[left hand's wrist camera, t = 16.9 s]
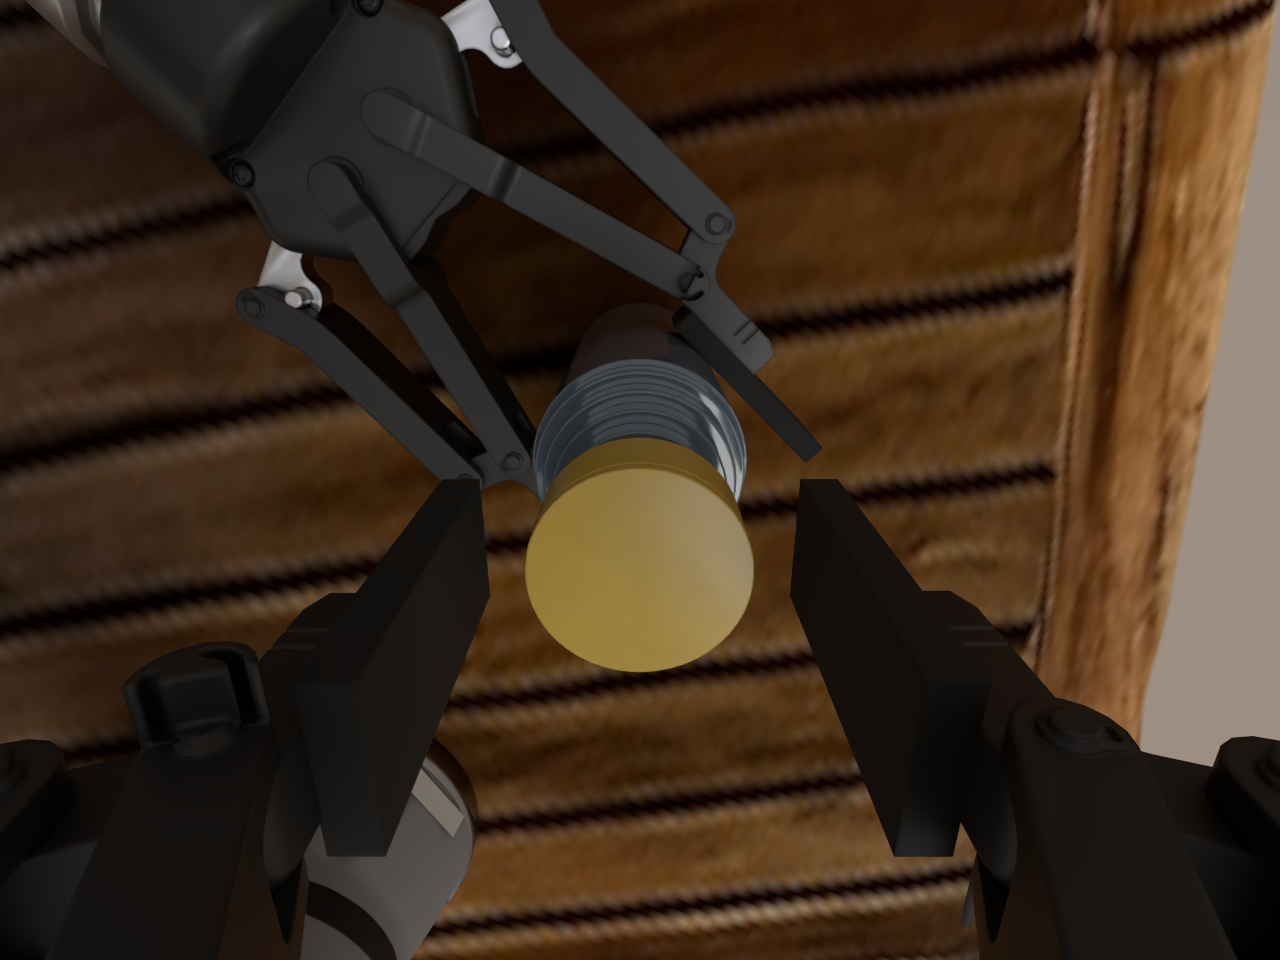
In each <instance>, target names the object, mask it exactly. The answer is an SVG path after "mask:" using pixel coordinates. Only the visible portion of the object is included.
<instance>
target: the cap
mask: <svg viewBox="0 0 1280 960" xmlns="http://www.w3.org/2000/svg"><path fill="white" fill-rule="evenodd" d="M754 575H755V566H754V555H753V550H752V545H751V542H750V540H749V537H748V534H747V531H746V528H745V525H744V522H743V519H742V516H741V513H740V510H739V507H738V505H737V502H736V499H735V496H734V494H733V492H732V490H731V488H730V487H729V485H728V483H727V482H726V481H725V479H724V478H723V476H722V475H721V474H720V473H719V472H718V471H717V470H716V469H715V468H714V467H713V465H711V464H710V463H709V462H708V461H706V460H705V459H704V458H703V457H701V456H700V455H698V454H696V453H695V452H693V451H691V450H690V449H687V448H685V447H683V446H680V445H678V444H675V443H672V442H668V441H665V440H659V439H652V438H628V439H620V440H616V441H611V442H607V443H605V444H602V445H599V446H596V447H594V448H592V449H590V450H588V451H586V452H584V453H583V454H581V455H580V456H578V457H577V458H575V459H574V460H573V461H571V462H570V463H569V464H568V465H567V466H566V467H565V468H564V469H563V470H562V471H561V472H560V473H559V475H558V476H557V477H556V478H555V479H554V481H553V482H552V484H551V486H550V487H549V489H548V491H547V493H546V495H545V498H544V500H543V502H542V505H541V508H540V511H539V514H538V517H537V520H536V522H535V525H534V528H533V531H532V534H531V537H530V540H529V544H528V547H527V551H526V558H525V582H526V587H527V593H528V596H529V599H530V602H531V605H532V607H533V609H534V611H535V613H536V615H537V617H538V618H539V620H540V621H541V623H542V624H543V626H544V627H545V628H546V630H547V631H548V632H549V633H550V634H551V635H552V636H553V637H554V638H555V639H556V640H557V641H558V642H559V643H560V644H561V645H563V646H564V647H565V648H566V649H568V650H569V651H571V652H572V653H574V654H575V655H577V656H579V657H581V658H583V659H585V660H587V661H589V662H592V663H594V664H597V665H600V666H603V667H607V668H611V669H615V670H621V671H629V672H648V671H659V670H664V669H669V668H673V667H676V666H679V665H683V664H685V663H688V662H690V661H692V660H694V659H697V658H699V657H700V656H702V655H704V654H705V653H707V652H709V651H710V650H711V649H713V648H714V647H715V646H717V645H718V644H719V643H720V642H721V641H722V640H723V639H725V638H726V637H727V636H728V635H729V634H730V632H731V631H732V630H733V629H734V627H735V626H736V625H737V623H738V622H739V620H740V618H741V617H742V615H743V613H744V612H745V610H746V607H747V605H748V602H749V600H750V597H751V593H752V589H753V585H754Z"/></svg>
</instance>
